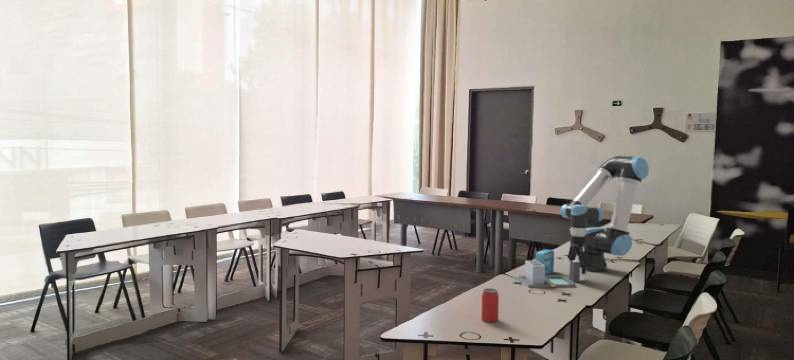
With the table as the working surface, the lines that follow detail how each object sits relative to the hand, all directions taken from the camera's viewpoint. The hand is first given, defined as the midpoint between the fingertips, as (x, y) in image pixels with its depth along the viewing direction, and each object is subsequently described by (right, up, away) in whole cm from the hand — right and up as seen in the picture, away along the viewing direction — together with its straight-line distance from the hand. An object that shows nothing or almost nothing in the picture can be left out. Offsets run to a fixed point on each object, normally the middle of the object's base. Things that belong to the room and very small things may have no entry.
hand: (577, 276), depth 268 cm
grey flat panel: (-17, -3, -4) cm, 17 cm away
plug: (0, -2, 0) cm, 2 cm away
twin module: (-23, -2, -4) cm, 23 cm away
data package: (-12, -1, +16) cm, 20 cm away
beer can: (-55, -7, -58) cm, 80 cm away
